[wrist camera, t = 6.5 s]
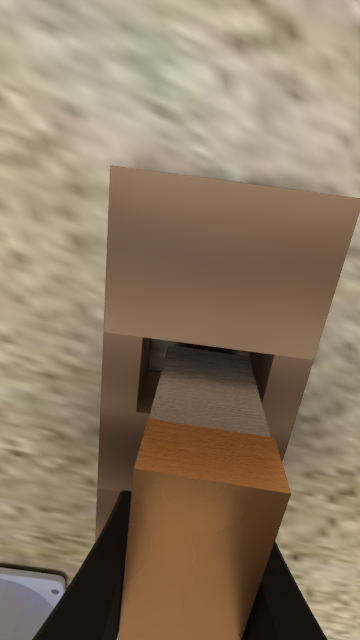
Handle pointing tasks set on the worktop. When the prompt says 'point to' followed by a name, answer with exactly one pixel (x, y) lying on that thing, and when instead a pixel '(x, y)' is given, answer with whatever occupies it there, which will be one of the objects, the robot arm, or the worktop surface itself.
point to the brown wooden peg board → (211, 294)
